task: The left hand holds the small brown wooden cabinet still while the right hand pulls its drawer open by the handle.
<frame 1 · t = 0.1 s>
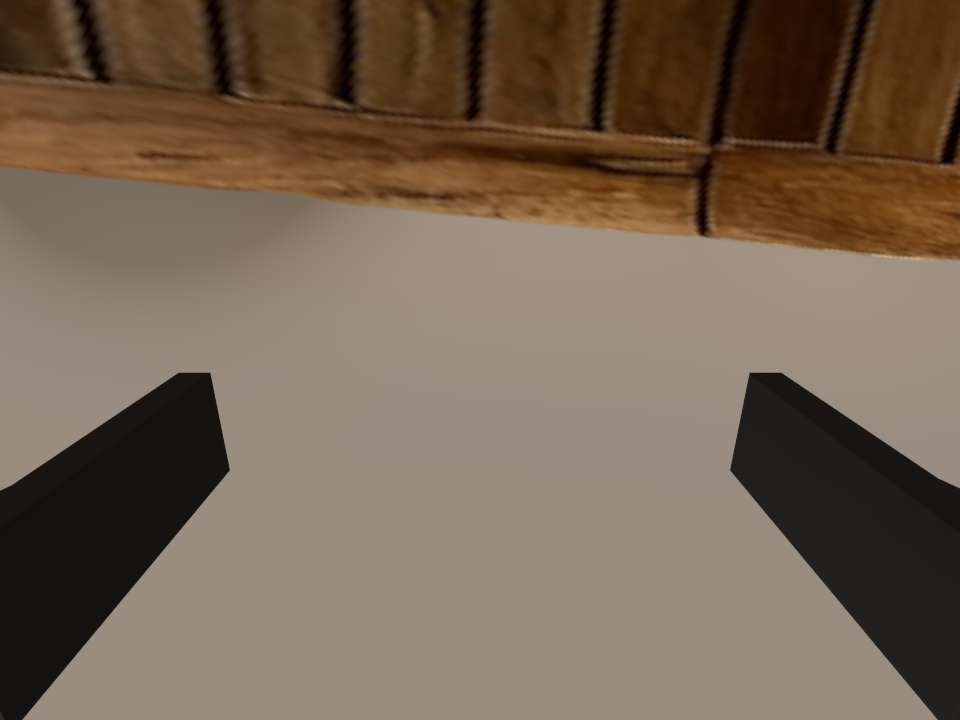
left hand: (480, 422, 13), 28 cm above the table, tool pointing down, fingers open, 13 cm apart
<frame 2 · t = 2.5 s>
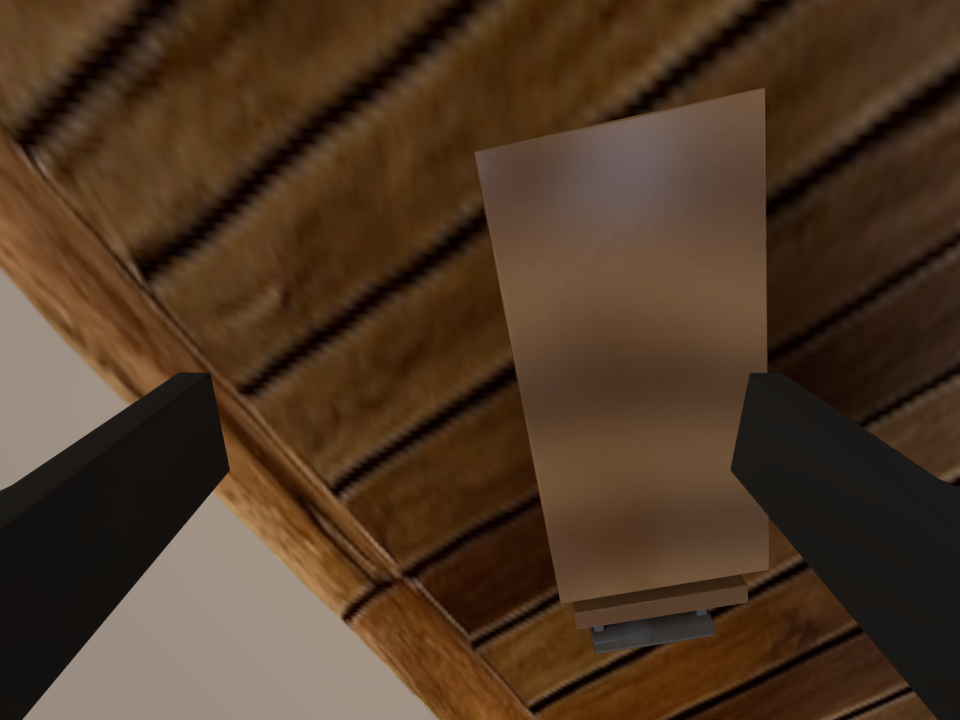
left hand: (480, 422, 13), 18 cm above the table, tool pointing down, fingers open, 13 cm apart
drawer: (628, 460, 28), point 5 cm above the table, slide at 1.8 cm
cabinet: (595, 329, 31), on the table
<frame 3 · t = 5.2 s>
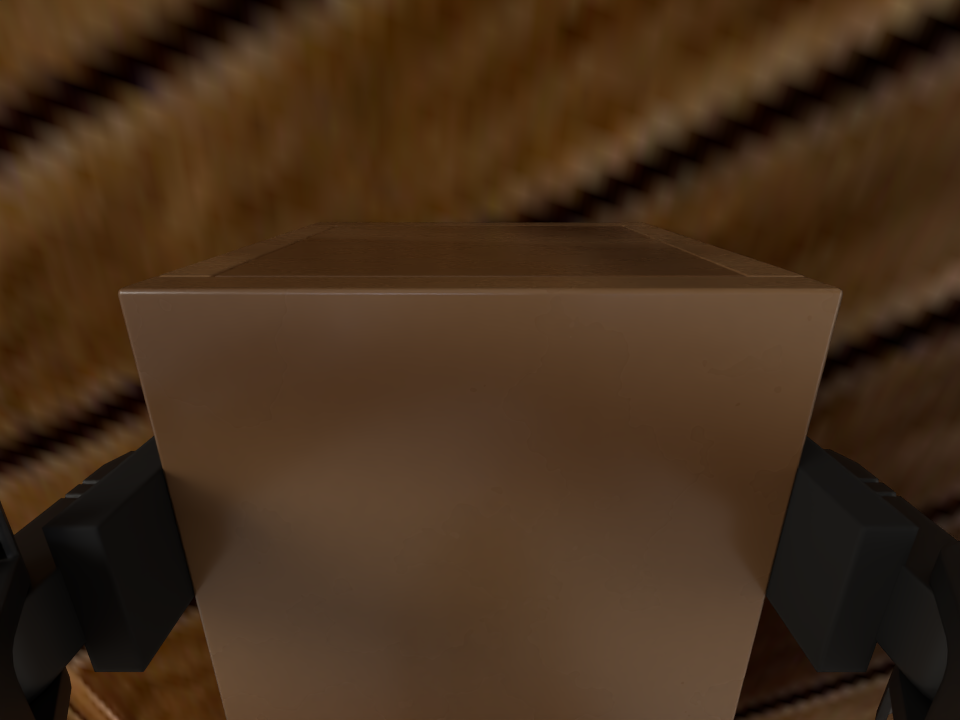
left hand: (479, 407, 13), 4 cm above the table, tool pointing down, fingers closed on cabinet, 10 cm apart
cabinet: (479, 507, 20), on the table, touching left hand
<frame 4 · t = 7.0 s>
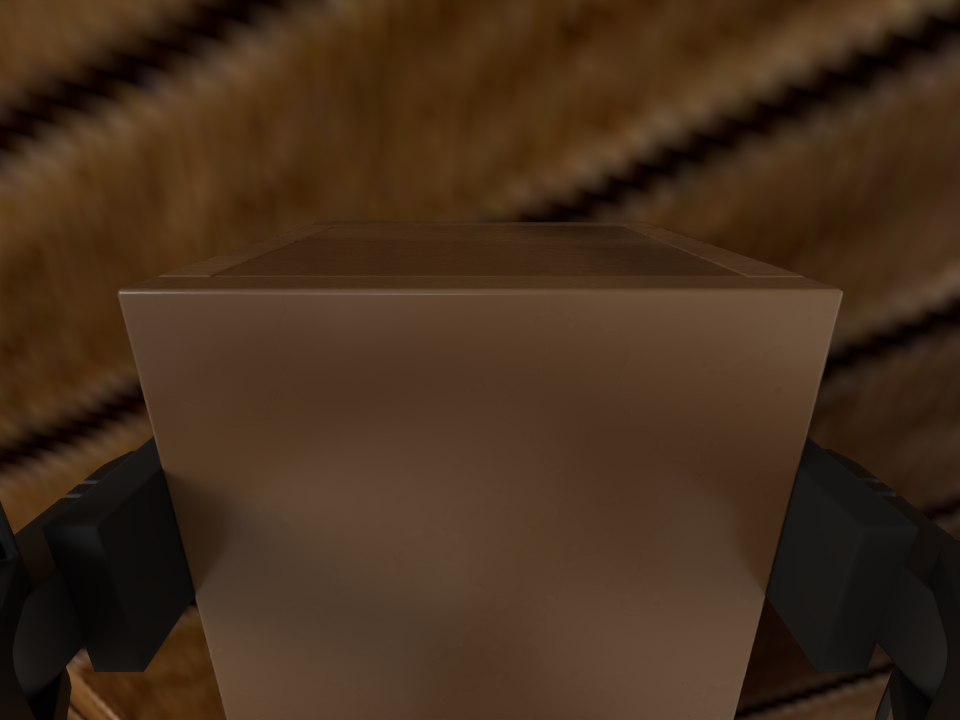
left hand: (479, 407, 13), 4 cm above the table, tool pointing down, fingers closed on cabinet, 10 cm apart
cabinet: (480, 506, 20), on the table, touching left hand
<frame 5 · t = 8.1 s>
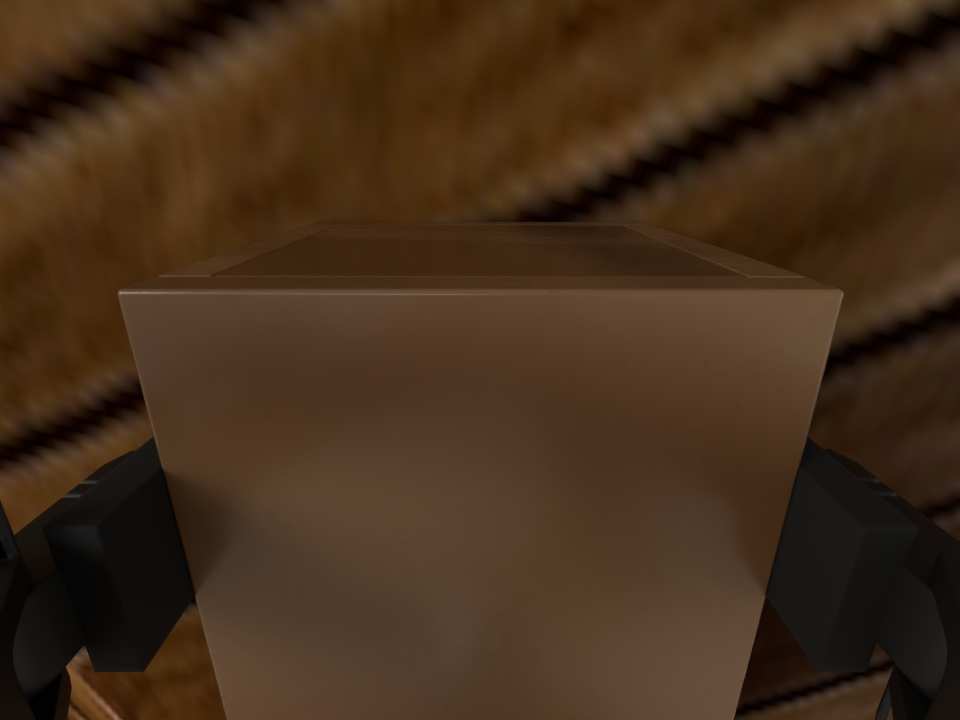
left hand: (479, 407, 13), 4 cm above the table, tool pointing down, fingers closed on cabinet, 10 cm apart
cabinet: (480, 506, 20), on the table, touching left hand
when the left hand's fingers open (4 cm above the table, at t = 9.7 s): cabinet stays where it is, on the table.
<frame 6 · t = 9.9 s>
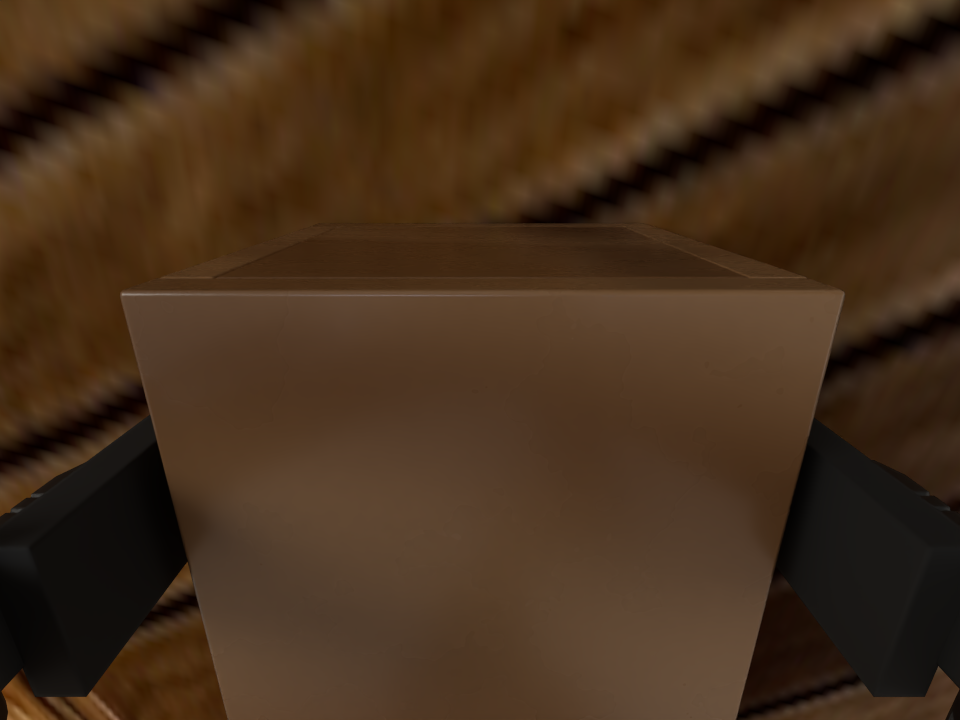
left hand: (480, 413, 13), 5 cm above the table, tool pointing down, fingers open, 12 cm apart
cabinet: (481, 507, 20), on the table
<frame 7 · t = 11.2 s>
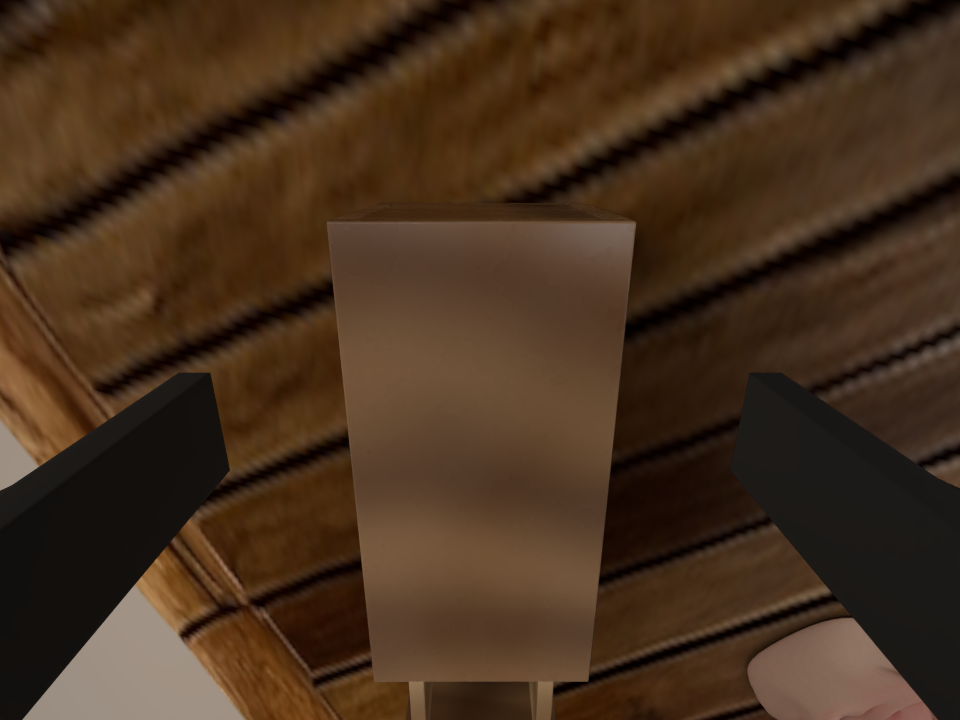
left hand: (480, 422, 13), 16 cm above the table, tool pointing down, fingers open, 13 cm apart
drawer: (481, 626, 30), point 5 cm above the table, slide at 7.9 cm
anatomical model: (837, 673, 37), on the table
cabinet: (480, 396, 30), on the table
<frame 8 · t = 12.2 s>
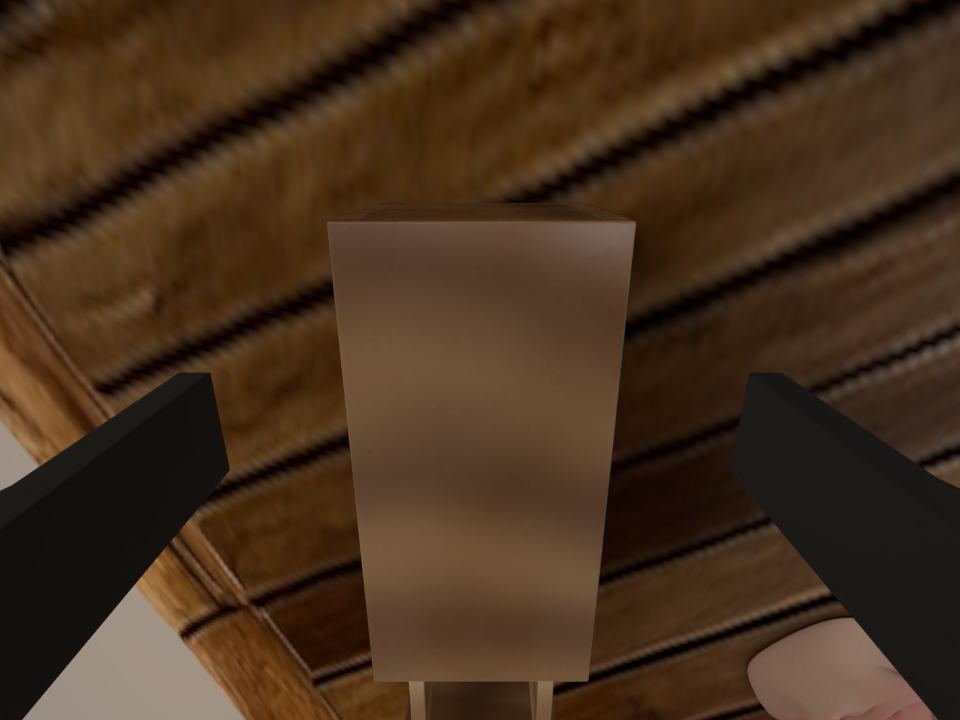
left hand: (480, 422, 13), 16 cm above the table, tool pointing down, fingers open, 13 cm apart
drawer: (481, 626, 30), point 5 cm above the table, slide at 7.9 cm
anatomical model: (837, 673, 37), on the table
cabinet: (480, 396, 30), on the table
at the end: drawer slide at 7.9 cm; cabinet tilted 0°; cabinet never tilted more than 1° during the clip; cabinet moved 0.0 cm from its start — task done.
